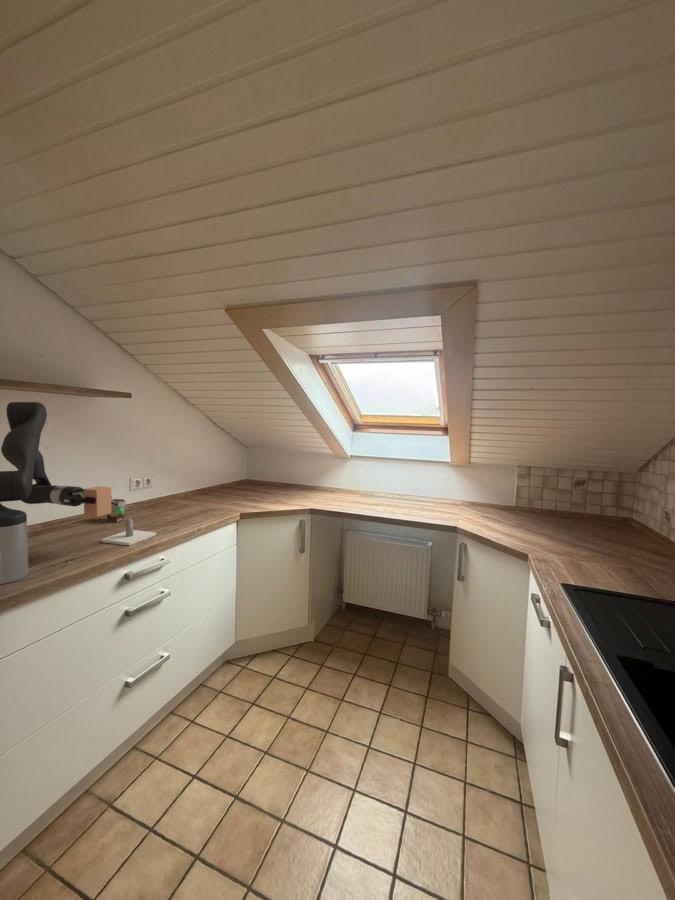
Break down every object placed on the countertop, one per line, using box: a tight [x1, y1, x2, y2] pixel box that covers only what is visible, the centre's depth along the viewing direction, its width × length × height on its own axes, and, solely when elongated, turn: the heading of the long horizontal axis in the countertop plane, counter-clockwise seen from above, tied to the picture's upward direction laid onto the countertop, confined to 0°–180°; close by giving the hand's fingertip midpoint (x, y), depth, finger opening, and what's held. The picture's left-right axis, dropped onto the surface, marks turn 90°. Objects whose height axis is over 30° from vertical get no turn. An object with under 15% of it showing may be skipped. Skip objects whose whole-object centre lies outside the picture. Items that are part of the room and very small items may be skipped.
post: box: [100, 518, 157, 546], centre depth 144 cm, size 14×14×8 cm
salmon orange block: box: [83, 485, 112, 518], centre depth 129 cm, size 6×6×10 cm
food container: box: [106, 498, 127, 523], centre depth 171 cm, size 12×6×10 cm, turn 59°
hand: (103, 499), depth 129 cm, fingers closed on salmon orange block, 6 cm apart
